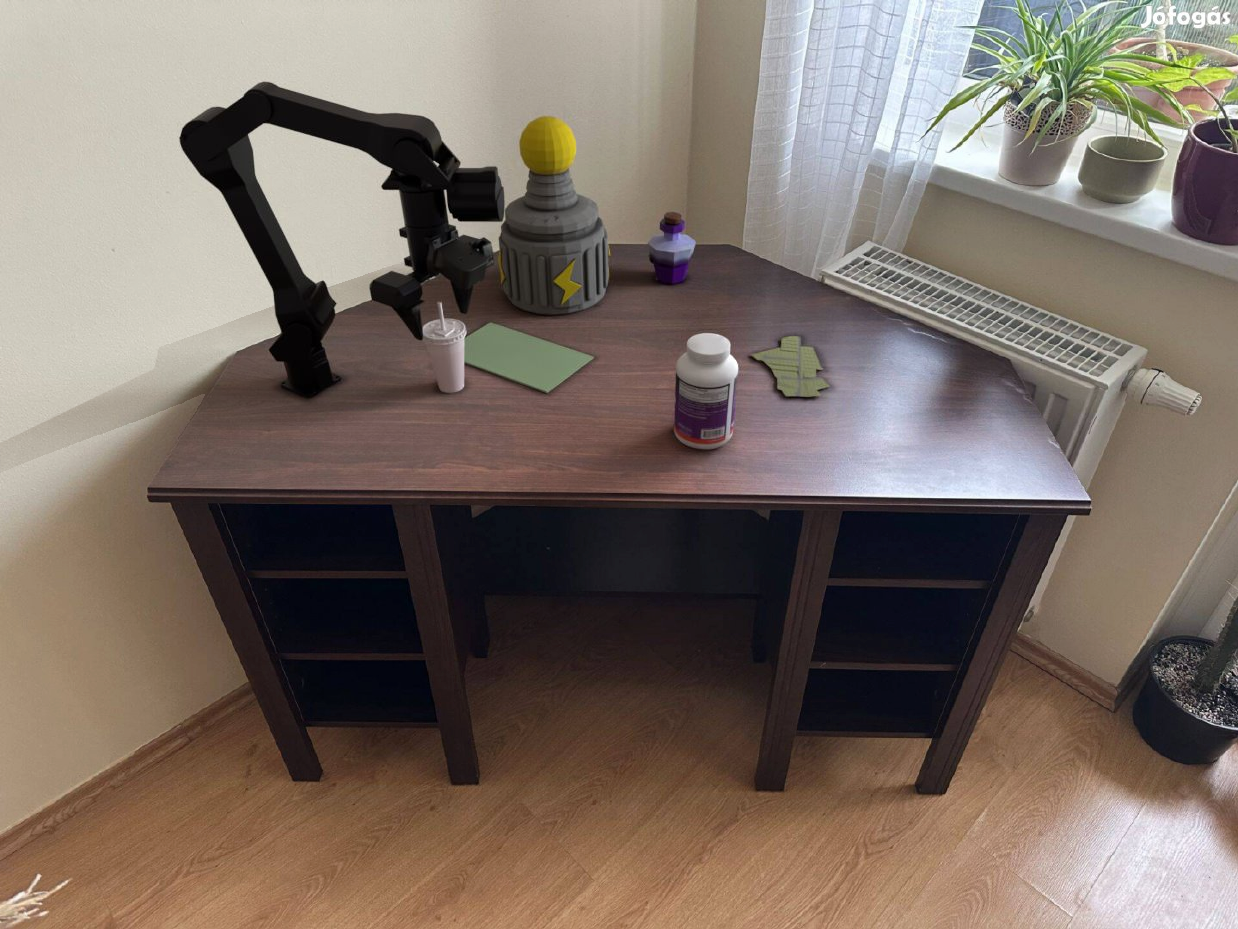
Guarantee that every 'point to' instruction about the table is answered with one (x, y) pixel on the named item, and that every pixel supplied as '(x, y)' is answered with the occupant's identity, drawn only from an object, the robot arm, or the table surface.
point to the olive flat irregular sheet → (794, 367)
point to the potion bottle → (671, 250)
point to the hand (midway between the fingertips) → (442, 326)
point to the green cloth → (521, 357)
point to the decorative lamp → (552, 230)
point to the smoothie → (446, 351)
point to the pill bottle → (705, 392)
